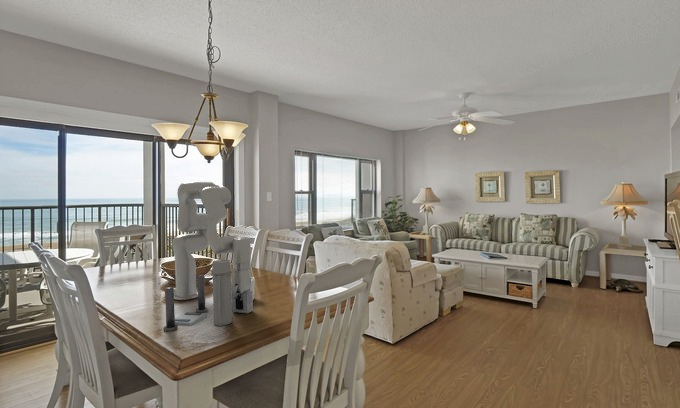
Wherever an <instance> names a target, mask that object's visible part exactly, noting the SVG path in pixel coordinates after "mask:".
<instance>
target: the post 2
mask: <svg viewBox="0 0 680 408" xmlns="http://www.w3.org/2000/svg"><path fill="white" fill-rule="evenodd" d="M205 279H206V278H205V274H198V275H196V285H197V292H198V297H197V306H198V307H197V308H196V309H195V313H207V312H208V311H209V308H208V307H206V285H205V284H206V281H205Z"/></svg>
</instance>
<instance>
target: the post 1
mask: <svg viewBox="0 0 680 408" xmlns="http://www.w3.org/2000/svg"><path fill="white" fill-rule="evenodd" d="M174 288H175V287H173V286H170V287H165V288H164V294H165V295H164V300H165V325H164V326H163V330H164V331H163V332H165V331H166V332H165V333H167V332H168V331H171V332H175V331H177V330H178V329H179V325H178V324H175V317H176V315H175V313H176V312H175V299H174ZM174 330H175V331H174ZM168 333H169V332H168Z"/></svg>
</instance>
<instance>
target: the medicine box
mask: <svg viewBox="0 0 680 408" xmlns="http://www.w3.org/2000/svg"><path fill="white" fill-rule="evenodd" d="M238 293H240V292H238ZM238 295H239V296H240V294H238ZM231 298H232V313H233V312H234V313H239V314H241V313H242V314H243V313H244V314H249V313H251V312H252V311H254V303H253V300H254V299H253V296H252V291H246V292H244V293H243V296H242V300H243V309H242V310H238V309H236V300H235V298H234V297H233V293H232V292H231Z"/></svg>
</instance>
